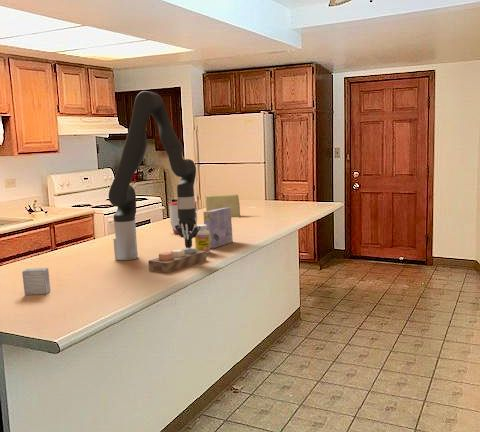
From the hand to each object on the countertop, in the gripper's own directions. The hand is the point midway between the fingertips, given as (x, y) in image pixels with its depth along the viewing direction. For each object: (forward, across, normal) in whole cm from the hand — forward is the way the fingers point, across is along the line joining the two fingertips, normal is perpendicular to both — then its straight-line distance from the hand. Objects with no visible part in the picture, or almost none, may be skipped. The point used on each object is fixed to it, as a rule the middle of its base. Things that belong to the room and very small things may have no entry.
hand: (188, 247), depth 229 cm
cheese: (+7, +66, -108) cm, 127 cm away
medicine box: (+7, +17, +61) cm, 64 cm away
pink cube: (+4, 0, +14) cm, 14 cm away
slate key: (+5, 0, 0) cm, 5 cm away
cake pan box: (+6, +10, -34) cm, 36 cm away
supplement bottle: (+6, +6, -16) cm, 19 cm away
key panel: (+6, 0, +7) cm, 9 cm away
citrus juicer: (+6, +51, -53) cm, 74 cm away
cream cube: (+4, 0, +7) cm, 8 cm away
